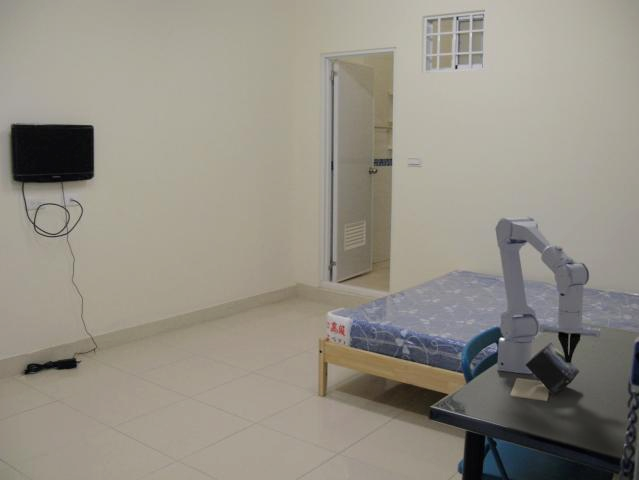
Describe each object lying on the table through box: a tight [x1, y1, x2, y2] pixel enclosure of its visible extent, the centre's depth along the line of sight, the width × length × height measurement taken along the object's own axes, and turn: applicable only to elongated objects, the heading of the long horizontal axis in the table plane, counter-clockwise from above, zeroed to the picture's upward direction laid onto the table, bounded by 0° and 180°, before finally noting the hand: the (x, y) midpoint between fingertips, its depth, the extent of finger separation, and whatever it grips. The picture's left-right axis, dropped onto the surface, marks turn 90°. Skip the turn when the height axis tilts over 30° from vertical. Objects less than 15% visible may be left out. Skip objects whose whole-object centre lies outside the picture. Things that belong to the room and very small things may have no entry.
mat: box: [509, 377, 550, 402], centre depth 170 cm, size 9×14×1 cm, turn 157°
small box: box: [526, 342, 580, 397], centre depth 169 cm, size 11×6×10 cm
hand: (568, 361), depth 166 cm, fingers closed
